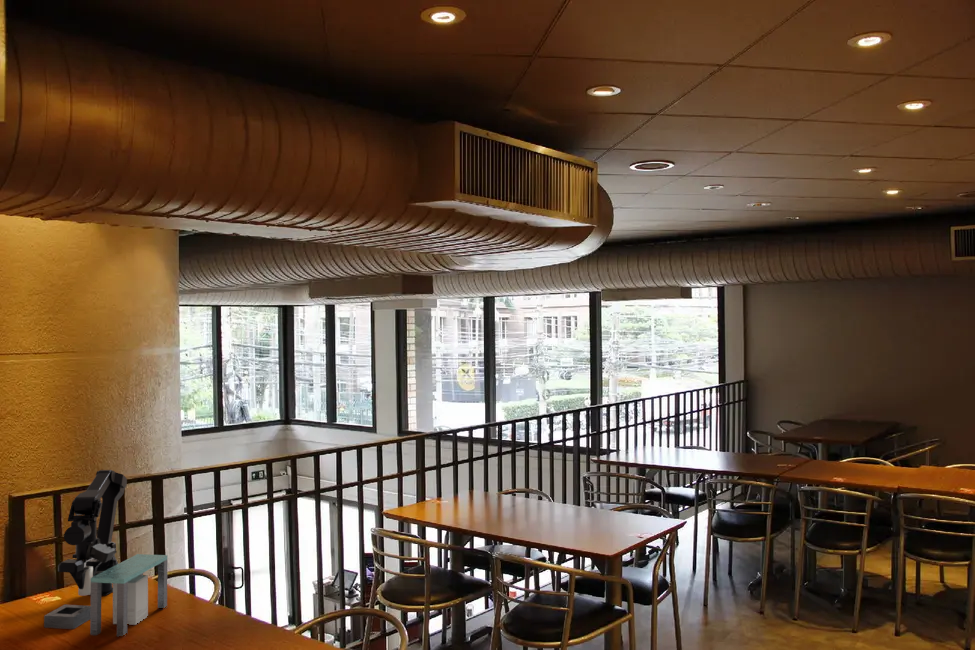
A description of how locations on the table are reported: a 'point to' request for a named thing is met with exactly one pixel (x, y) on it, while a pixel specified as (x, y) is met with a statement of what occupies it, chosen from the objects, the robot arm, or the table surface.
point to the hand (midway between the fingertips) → (85, 586)
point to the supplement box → (134, 600)
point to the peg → (86, 582)
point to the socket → (67, 617)
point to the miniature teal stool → (126, 588)
